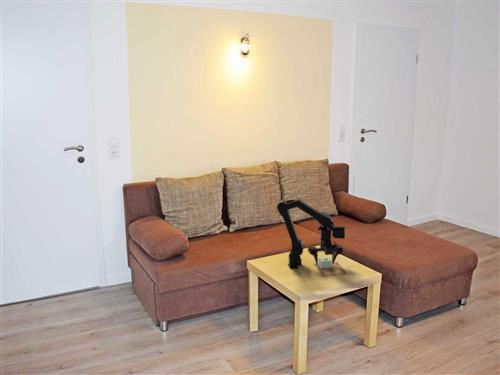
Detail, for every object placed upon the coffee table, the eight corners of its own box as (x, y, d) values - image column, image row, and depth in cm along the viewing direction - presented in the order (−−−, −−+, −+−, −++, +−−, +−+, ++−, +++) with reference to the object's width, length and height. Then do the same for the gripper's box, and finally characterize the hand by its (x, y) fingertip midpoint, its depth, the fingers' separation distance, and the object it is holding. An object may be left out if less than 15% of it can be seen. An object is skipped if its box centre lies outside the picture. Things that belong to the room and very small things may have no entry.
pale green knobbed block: (321, 268, 247) (321, 260, 246) (318, 264, 253) (318, 257, 252) (331, 267, 248) (331, 260, 247) (328, 263, 254) (328, 256, 253)
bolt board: (323, 278, 238) (323, 271, 237) (313, 265, 255) (313, 259, 254) (348, 276, 240) (348, 269, 239) (337, 264, 257) (337, 257, 256)
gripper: (313, 243, 238) (312, 270, 241) (347, 241, 241) (346, 268, 244) (307, 236, 249) (307, 263, 252) (340, 235, 251) (339, 261, 255)
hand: (324, 264), depth 250 cm, fingers open, 9 cm apart
